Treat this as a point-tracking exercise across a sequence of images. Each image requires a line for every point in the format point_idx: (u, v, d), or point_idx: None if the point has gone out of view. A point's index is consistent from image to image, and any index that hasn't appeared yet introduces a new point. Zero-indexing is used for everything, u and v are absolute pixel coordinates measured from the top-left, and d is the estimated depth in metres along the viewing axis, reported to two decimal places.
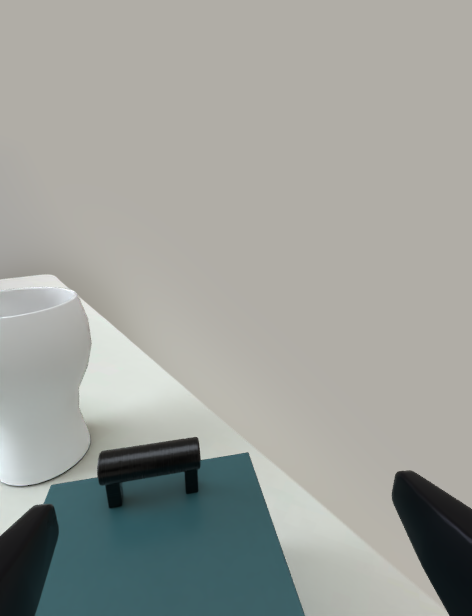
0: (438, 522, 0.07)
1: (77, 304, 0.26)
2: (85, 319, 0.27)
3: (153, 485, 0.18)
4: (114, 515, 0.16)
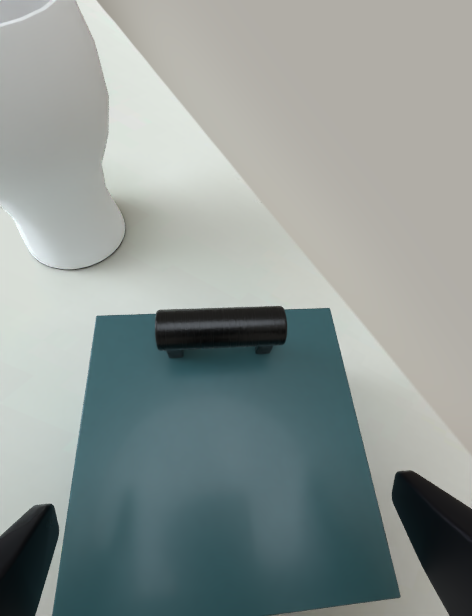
0: (438, 522, 0.07)
1: (71, 10, 0.14)
2: (91, 47, 0.15)
3: None
4: (175, 367, 0.14)
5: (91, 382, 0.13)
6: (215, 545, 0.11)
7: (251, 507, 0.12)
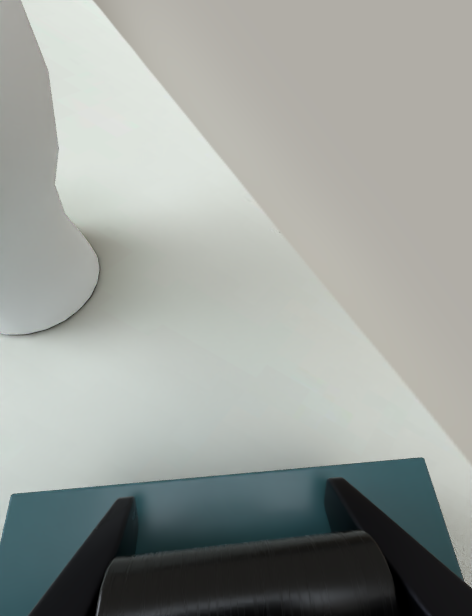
0: None
1: None
2: (4, 2, 0.09)
3: (232, 533, 0.08)
4: None
5: None
6: None
7: None
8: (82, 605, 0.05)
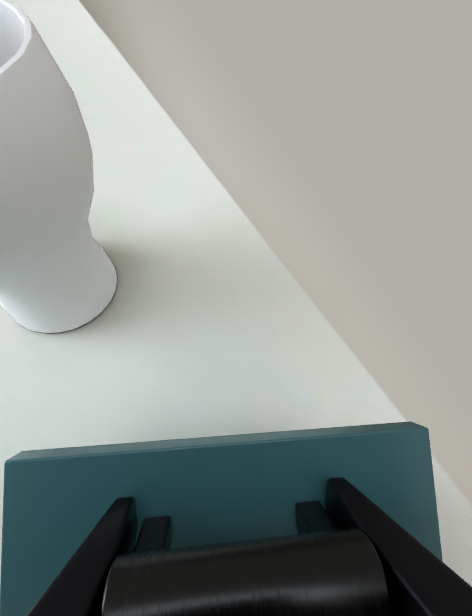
0: None
1: (40, 66, 0.11)
2: (68, 104, 0.13)
3: (230, 496, 0.08)
4: None
5: (8, 600, 0.08)
6: None
7: None
8: (81, 605, 0.05)
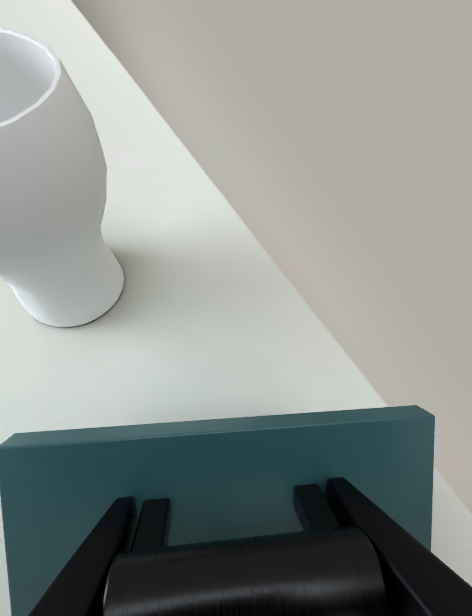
0: None
1: (67, 97, 0.13)
2: (88, 127, 0.15)
3: (229, 479, 0.08)
4: None
5: (15, 570, 0.08)
6: None
7: None
8: (81, 605, 0.05)
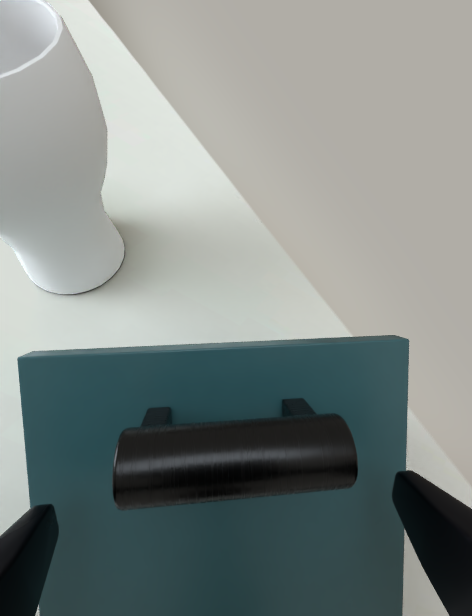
0: (438, 522, 0.07)
1: (69, 52, 0.14)
2: (89, 85, 0.15)
3: (224, 392, 0.09)
4: None
5: (34, 468, 0.09)
6: None
7: (259, 601, 0.10)
8: None
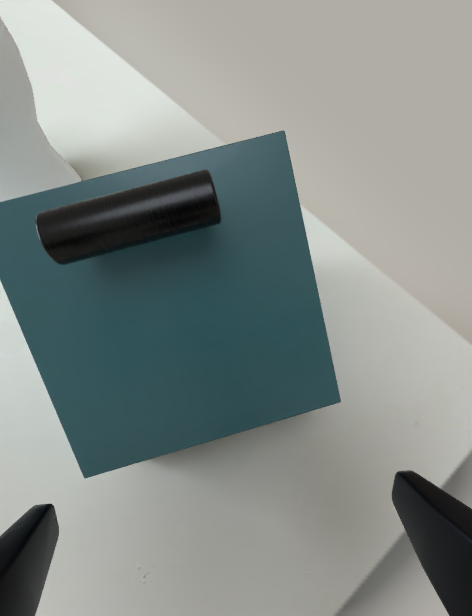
0: (438, 522, 0.07)
1: None
2: None
3: None
4: (102, 257, 0.12)
5: (12, 295, 0.12)
6: (190, 402, 0.13)
7: (215, 370, 0.13)
8: None
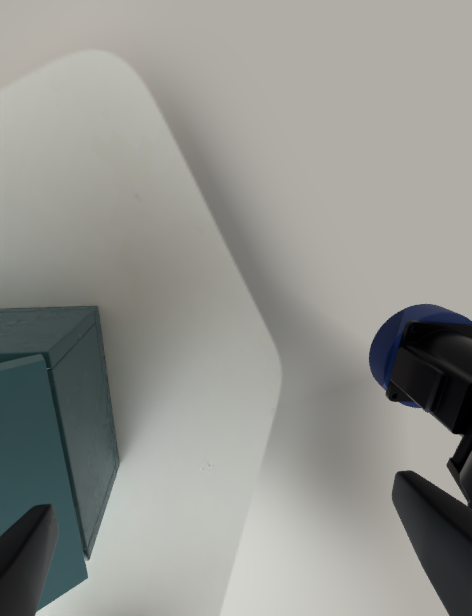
0: (438, 522, 0.07)
1: None
2: None
3: None
4: None
5: None
6: (14, 520, 0.12)
7: None
8: None
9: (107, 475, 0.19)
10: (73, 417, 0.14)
